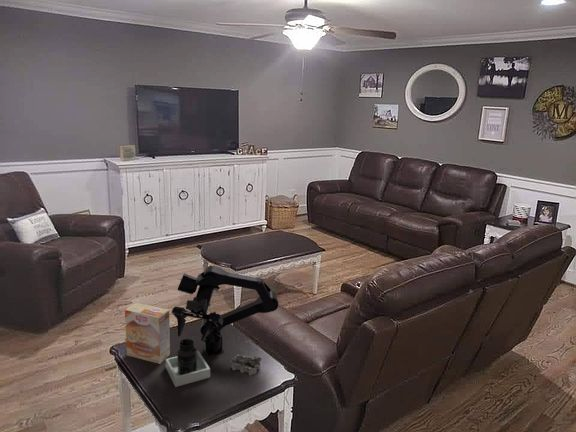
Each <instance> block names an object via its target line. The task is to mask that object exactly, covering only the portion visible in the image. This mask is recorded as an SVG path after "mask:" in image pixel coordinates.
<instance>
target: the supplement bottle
mask: <svg viewBox="0 0 576 432" xmlns="http://www.w3.org/2000/svg"><path fill="white" fill-rule="evenodd" d="M197 351H198V350H197V348H196V347H195V345H194V340H193V339H192V338H184V339H182V340H180V342H179V348H178V349H177V352H176V355H177V365H178V373H179V374H180V375H184V374H187V373H191V372H195V371H197Z"/></svg>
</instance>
